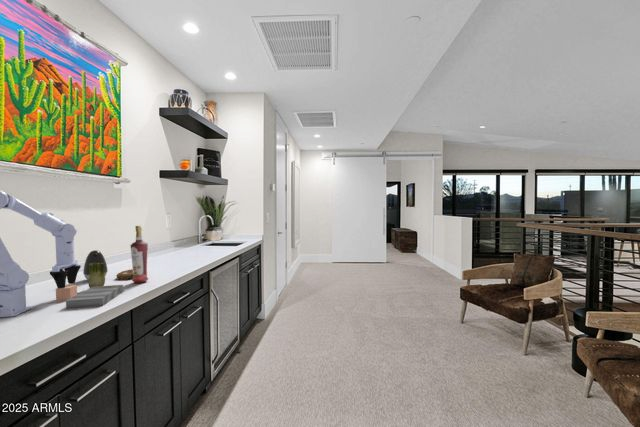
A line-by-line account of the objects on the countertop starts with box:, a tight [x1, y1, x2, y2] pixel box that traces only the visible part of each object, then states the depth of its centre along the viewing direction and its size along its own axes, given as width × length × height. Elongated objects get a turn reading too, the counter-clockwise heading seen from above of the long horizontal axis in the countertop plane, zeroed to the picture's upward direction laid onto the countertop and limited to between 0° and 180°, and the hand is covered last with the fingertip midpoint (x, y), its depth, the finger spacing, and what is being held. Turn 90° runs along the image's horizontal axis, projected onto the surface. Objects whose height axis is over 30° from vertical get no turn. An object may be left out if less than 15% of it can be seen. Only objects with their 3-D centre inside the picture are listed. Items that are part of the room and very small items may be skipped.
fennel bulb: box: [88, 263, 106, 288], centre depth 140 cm, size 6×5×12 cm
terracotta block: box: [55, 284, 78, 302], centre depth 126 cm, size 5×5×5 cm
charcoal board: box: [65, 284, 124, 310], centre depth 124 cm, size 20×12×3 cm, turn 14°
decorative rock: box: [116, 268, 133, 281], centre depth 164 cm, size 11×4×15 cm
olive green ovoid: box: [82, 249, 109, 281], centre depth 159 cm, size 10×10×15 cm
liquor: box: [130, 225, 149, 284], centre depth 151 cm, size 7×7×28 cm
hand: (66, 285), depth 126 cm, fingers open, 7 cm apart
